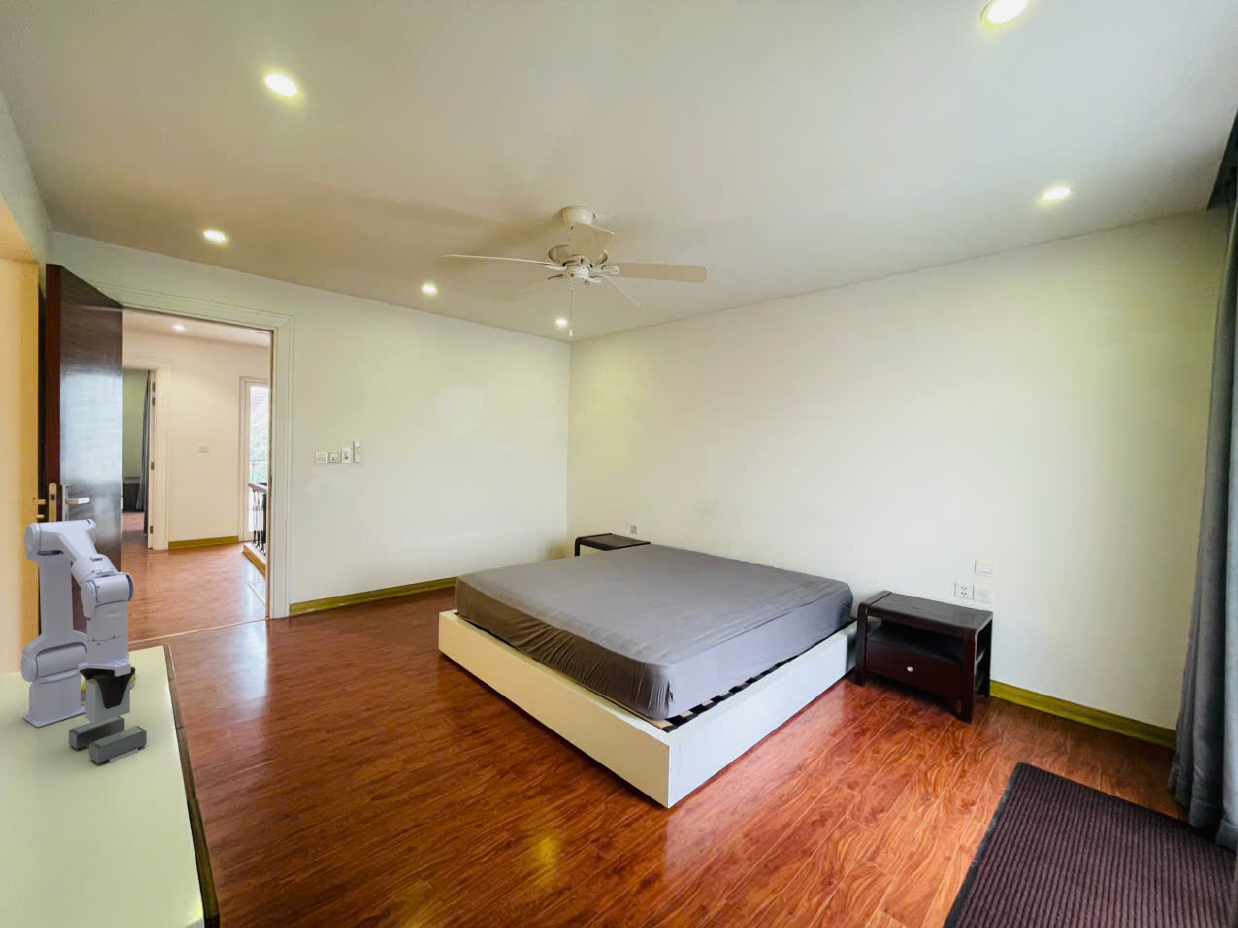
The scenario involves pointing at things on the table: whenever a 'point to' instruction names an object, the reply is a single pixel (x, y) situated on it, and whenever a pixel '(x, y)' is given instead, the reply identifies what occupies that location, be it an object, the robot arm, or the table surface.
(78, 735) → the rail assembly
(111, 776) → the table surface
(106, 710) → the block
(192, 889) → the table surface
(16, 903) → the table surface
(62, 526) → the robot arm
